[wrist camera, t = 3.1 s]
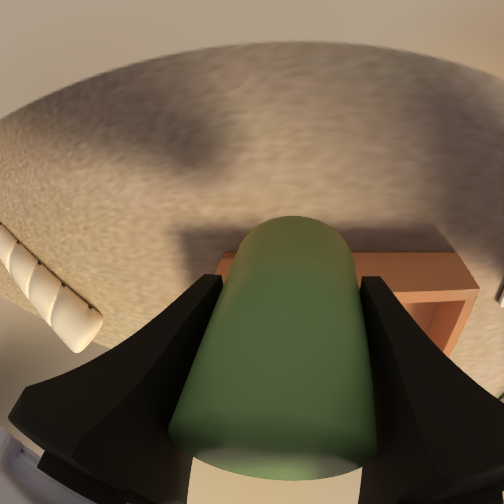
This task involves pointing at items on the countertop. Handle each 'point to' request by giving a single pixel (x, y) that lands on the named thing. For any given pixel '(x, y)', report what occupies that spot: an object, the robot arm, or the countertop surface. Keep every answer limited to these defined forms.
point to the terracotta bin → (417, 288)
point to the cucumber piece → (283, 362)
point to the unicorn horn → (50, 295)
